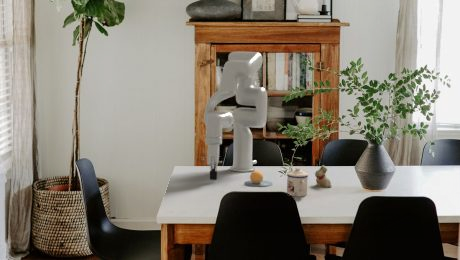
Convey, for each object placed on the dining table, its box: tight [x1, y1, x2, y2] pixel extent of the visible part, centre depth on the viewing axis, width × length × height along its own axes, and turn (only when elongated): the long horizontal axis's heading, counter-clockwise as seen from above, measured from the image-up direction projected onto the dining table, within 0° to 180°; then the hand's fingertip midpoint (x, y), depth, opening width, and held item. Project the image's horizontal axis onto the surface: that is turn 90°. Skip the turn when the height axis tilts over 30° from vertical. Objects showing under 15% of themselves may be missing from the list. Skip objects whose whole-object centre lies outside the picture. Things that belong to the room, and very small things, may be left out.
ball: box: [249, 170, 264, 184], centre depth 319 cm, size 6×6×6 cm
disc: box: [244, 179, 274, 188], centre depth 320 cm, size 13×13×1 cm
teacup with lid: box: [286, 167, 309, 197], centre depth 298 cm, size 12×9×12 cm
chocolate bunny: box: [314, 164, 332, 189], centre depth 316 cm, size 6×8×10 cm
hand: (213, 179), depth 320 cm, fingers closed
